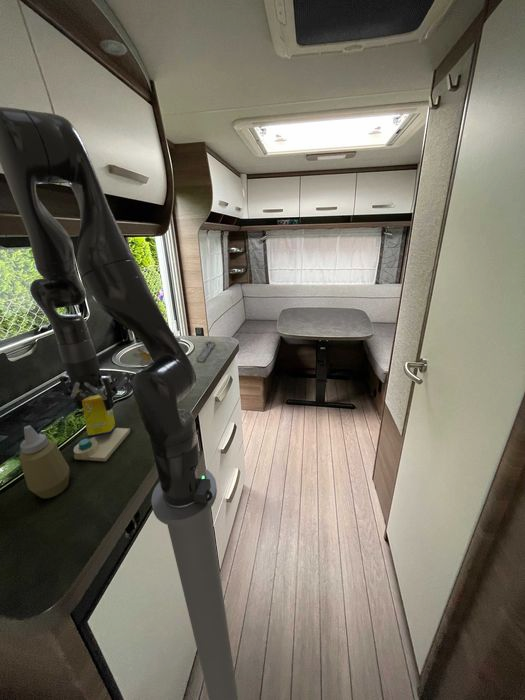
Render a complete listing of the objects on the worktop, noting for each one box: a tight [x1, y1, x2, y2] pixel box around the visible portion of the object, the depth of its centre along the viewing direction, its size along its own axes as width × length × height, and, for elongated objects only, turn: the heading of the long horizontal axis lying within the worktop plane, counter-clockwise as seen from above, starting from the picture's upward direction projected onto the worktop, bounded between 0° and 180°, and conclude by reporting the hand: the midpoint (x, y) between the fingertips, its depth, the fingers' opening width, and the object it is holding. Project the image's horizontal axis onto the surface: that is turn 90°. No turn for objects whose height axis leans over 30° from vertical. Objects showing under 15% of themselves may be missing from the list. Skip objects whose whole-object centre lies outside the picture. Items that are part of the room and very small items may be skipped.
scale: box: [73, 427, 131, 462], centre depth 79 cm, size 13×9×3 cm
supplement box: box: [82, 394, 117, 439], centre depth 81 cm, size 6×6×11 cm
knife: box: [198, 341, 215, 363], centre depth 141 cm, size 25×1×5 cm
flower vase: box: [132, 331, 181, 367], centre depth 98 cm, size 13×18×25 cm
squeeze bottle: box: [18, 424, 70, 499], centre depth 63 cm, size 8×8×18 cm
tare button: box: [78, 438, 91, 450], centre depth 75 cm, size 3×3×2 cm
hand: (95, 408), depth 78 cm, fingers open, 8 cm apart
